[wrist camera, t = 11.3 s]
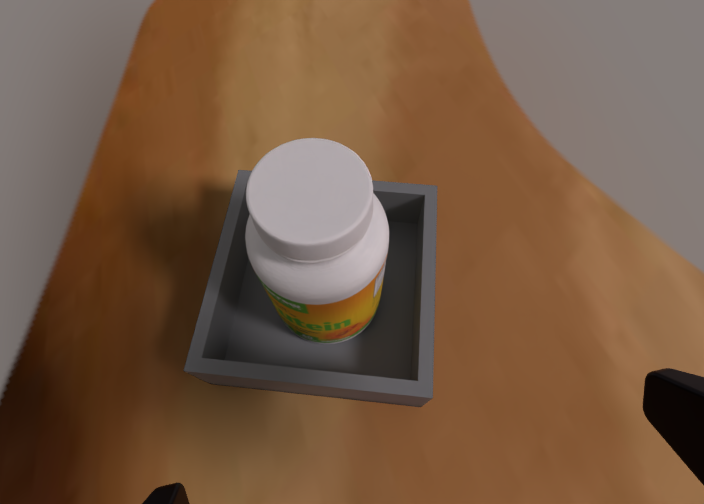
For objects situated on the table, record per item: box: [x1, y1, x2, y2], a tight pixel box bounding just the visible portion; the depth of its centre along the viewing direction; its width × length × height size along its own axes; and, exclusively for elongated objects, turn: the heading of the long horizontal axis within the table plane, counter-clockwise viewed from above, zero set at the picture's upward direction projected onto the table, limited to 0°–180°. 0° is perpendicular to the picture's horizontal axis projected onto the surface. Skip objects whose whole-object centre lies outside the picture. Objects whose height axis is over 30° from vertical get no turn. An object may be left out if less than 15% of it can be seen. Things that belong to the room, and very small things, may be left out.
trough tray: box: [184, 170, 437, 407], centre depth 21 cm, size 10×10×4 cm
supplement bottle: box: [245, 138, 389, 344], centre depth 17 cm, size 5×5×10 cm
